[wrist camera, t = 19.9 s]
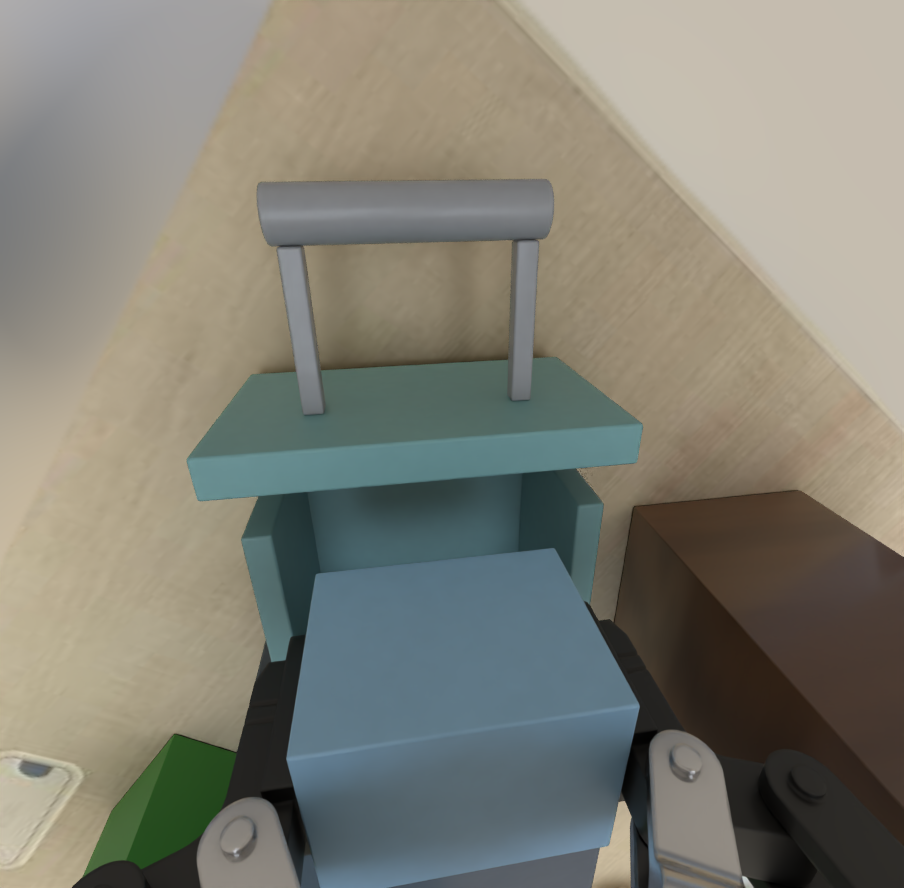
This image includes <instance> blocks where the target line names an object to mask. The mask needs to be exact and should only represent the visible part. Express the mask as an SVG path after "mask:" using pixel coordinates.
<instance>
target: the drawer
mask: <svg viewBox="0 0 904 888" xmlns="http://www.w3.org/2000/svg"><path fill="white" fill-rule="evenodd" d="M257 207H258V214H259V220H260V224H261V228H262V232H263V235H264V238H265V240H266V242H267V244H268V245H269V246H280V247H278V248H277V256H278V262H279V268H280V274H281V281H282V287H283V293H284V299H285V306H286V312H287V318H288V324H289V331H290V337H291V343H292V349H293V356H294V362H295V368H296V372H284V373H267V374H252V375H250V377H249V378H248V379H247V381H246V382H245V383H244V385H243V386H242V387H241V389H240V390H239V391H238V392H237V394H236V395H235V396H234V398H233V399H232V400H231V402H230V403H229V404H228V406H227V407H226V408H225V410H224V411H223V412H222V413H221V415H220V416H219V417H218V419H217V420H216V421H215V423H214V424H213V425H212V427H211V428H210V429H209V430H208V432H207V433H206V434H205V436H204V437H203V438H202V440H201V441H200V442H199V444H198V445H197V446H196V448H195V449H194V450H193V451H192V453H191V454H190V455H189V457H188V458H187V464H188V468H189V471H190V475H191V479H192V482H193V486H194V489H195V493H196V496H197V499H198V501H210V500H221V499H233V498H244V497H256V496H258V499H257V501H256V504H255V506H254V509H253V511H252V514H251V516H250V519H249V521H248V523H247V526H246V528H245V531H244V533H243V536H242V538H241V541H242V546H243V550H244V554H245V558H246V562H247V566H248V570H249V574H250V578H251V582H252V586H253V590H254V594H255V598H256V602H257V606H258V610H259V614H260V618H261V622H262V626H263V630H264V634H265V638H266V642H267V646H268V650H269V654H270V658H271V662H275V661H283V660H286V655H287V650H288V645H289V641H290V638H291V637H292V636H299V635H306V632H307V626H308V619H309V613H310V607H311V601H312V594H313V588H314V582H315V576H316V574H318V573H327V572H336V571H345V570H355V569H364V568H373V567H382V566H392V565H401V564H410V563H419V562H429V561H438V560H447V559H456V558H465V557H475V556H484V555H493V554H502V553H512V552H521V551H530V550H539V549H549V548H554V549H555V550H556V552H557V553H558V555H559V557H560V559H561V561H562V563H563V564H564V566H565V568H566V570H567V572H568V574H569V576H570V577H571V579H572V581H573V583H574V585H575V587H576V588H577V590H578V592H579V594H580V596H581V598H582V600H583V601H586V602H588V604H589V605H590V601H591V593H592V586H593V579H594V572H595V564H596V557H597V550H598V543H599V535H600V528H601V521H602V514H603V506H604V504H603V502H602V501H601V500H600V498H599V497H598V496H597V495H596V493H595V492H594V491H593V490H592V488H591V487H590V486H589V485H588V483H587V482H586V481H585V480H584V478H583V477H582V476H581V475H580V473H579V472H578V471H577V470H576V468H587V467H599V466H610V465H622V464H633V463H636V462H637V460H638V453H639V447H640V441H641V435H642V429H643V425H642V423H641V422H639V421H638V420H637V419H636V418H634V417H633V416H632V415H630V414H629V413H628V412H627V411H625V410H624V409H623V408H621V407H620V406H619V405H618V404H616V403H615V402H614V401H612V400H611V399H610V398H609V397H607V396H606V395H605V394H603V393H602V392H601V391H600V390H598V389H597V388H596V387H594V386H593V385H592V384H590V383H589V382H588V381H587V380H585V379H584V378H583V377H581V376H580V375H579V374H578V373H576V372H575V371H574V370H572V369H571V368H570V367H569V366H567V365H566V364H565V363H563V362H562V361H561V360H560V359H558V358H557V357H546V358H533V345H534V327H535V309H536V291H537V273H538V254H539V241H538V240H537V239H544V238H546V237H547V235H548V234H549V231H550V228H551V225H552V221H553V214H554V194H553V188H552V185H551V183H550V181H549V180H547V179H501V180H404V181H307V182H260V183H259V184H258V186H257ZM499 240H513V242H512V264H511V294H510V324H509V354H508V360H493V361H476V362H459V363H441V364H424V365H406V366H389V367H372V368H354V369H337V370H321V366H320V359H319V352H318V345H317V337H316V330H315V323H314V315H313V308H312V301H311V293H310V286H309V279H308V271H307V264H306V257H305V250H304V247H303V246H308V245H347V244H385V243H423V242H461V241H499Z"/></svg>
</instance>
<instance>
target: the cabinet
mask: <svg viewBox="0 0 904 888" xmlns="http://www.w3.org/2000/svg"><path fill="white" fill-rule="evenodd" d="M268 662H271V658H270V654H269V650H268V646H267V642H266V641H265V645H264V649H263V653H262V657H261V661H260V665H259V669H258V673H257V677H256V680H257V678H258V677H259V675H260V674H261V673H262V671H263V670H264V668H265V667H266V665H267V664H268ZM249 706H250V705H249ZM244 727H245V725H244ZM239 743H240V742H239ZM238 747H239V746H238ZM237 751H238V750H237ZM236 755H237V754H236ZM235 759H236V758H235ZM599 849H600V848H594V849H589V850H584V851H579V852H573V853H568V854H563V855H557V856H552V857H547V858H542V859H536V860H531V861H526V862H521V863H515V864H510V865H505V866H499V867H494V868H489V869H484V870H478V871H473V872H468V873H463V874H457V875H452V876H447V877H441V878H436V879H431V880H426V881H420V882H415V883H410V884H405V885H399V886H394V887H389V888H591V887H592V883H593V878H594V873H595V868H596V863H597V859H598V854H599ZM301 888H320V885H319V881H318V877H317V874H316V870H315V866H314V862H313V858H312V855H308V856H304V862H303V871H302V881H301Z"/></svg>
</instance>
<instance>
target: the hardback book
mask: <svg viewBox="0 0 904 888" xmlns="http://www.w3.org/2000/svg"><path fill="white" fill-rule="evenodd" d="M236 754H237V753H234V752H231V751H228V750H225V749H221V748H218V747H215V746H212V745H208V744H205V743H202V742H199V741H195V740H192V739H189V738H185V737H182V736H179V735H176V734H174V735H173V736H172V738H171V739H170V740H169V741H168V743H167V744H166V745H165V746H164V748H163V749H162V750H161V751H160V752H159V754H158V755H157V756H156V757H155V759H154V760H153V761H152V762H151V763H150V765H149V766H148V767H147V768H146V770H145V771H144V772H143V773H142V775H141V776H140V777H139V778H138V779H137V781H136V782H135V783H134V784H133V786H132V787H131V788H130V789H129V791H128V792H127V793H126V794H125V795H124V797H123V798H122V799H121V800H120V802H119V803H118V804H117V805H116V807H115V808H114V809H113V810H112V811H111V813H110V816H109V818H108V820H107V823H106V825H105V827H104V829H103V832H102V834H101V836H100V839H99V841H98V843H97V845H96V848H95V850H94V852H93V854H92V857H91V859H90V861H89V864H88V866H87V868H86V870H85V873H84V875H83V877H84V876H85V875H87V874H88V873H89V872H91V871H92V870H94V869H96V868H98V867H99V866H102V865H104V864H106V863H109V862H113V861H118V860H126V861H130V862H133V863H135V864H136V865H138V866H139V868H140V869H143V868H145V867H147V866H149V865H151V864H153V863H155V862H157V861H159V860H161V859H163V858H164V857H166V856H168V855H170V854H172V853H174V852H176V851H178V850H180V849H182V848H184V847H185V846H187V845H189V844H190V843H191V842H193V841H194V840H195V839H197V838H198V837H199V836H200V835H201V834H202V833H203V832H204V831H205V829H206V828H207V826H208V825H209V823H210V822H211V821H212V819H213V818H214V817H215V816H216V815H217V814H218V813H219V812H220V810H221V808H222V806H223V804H224V801H225V798H226V795H227V791H228V787H229V783H230V779H231V775H232V771H233V767H234V763H235V758H236ZM83 877H82V878H83Z"/></svg>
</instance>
